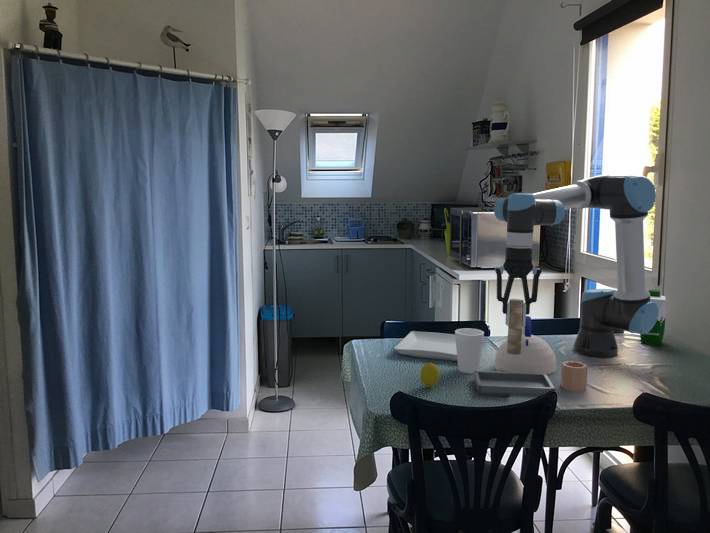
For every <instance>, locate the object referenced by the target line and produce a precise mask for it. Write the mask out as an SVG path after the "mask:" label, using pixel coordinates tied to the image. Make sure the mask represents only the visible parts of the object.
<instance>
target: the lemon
mask: <svg viewBox="0 0 710 533" xmlns="http://www.w3.org/2000/svg"><path fill="white" fill-rule="evenodd" d="M439 378H440V372H439V368H438V367H437V366H436V364H434V363H432V362H431V361H429V362H428V363H425V364H424V365H423V366H422V367H421V370H420V380H421V382H422V384H423V385H424V386H426V387H427V388H429V389H431V387H433V386H435V385H437V383H438V382H439Z"/></svg>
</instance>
